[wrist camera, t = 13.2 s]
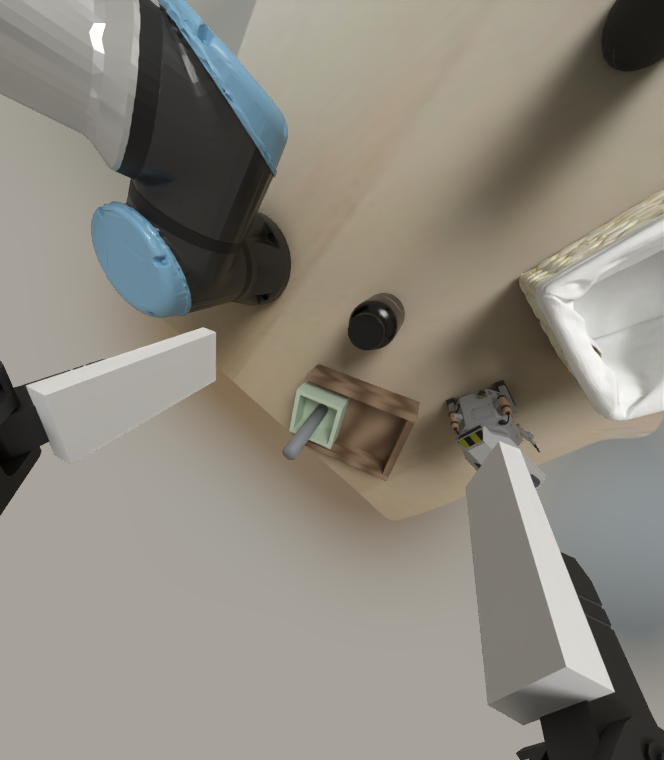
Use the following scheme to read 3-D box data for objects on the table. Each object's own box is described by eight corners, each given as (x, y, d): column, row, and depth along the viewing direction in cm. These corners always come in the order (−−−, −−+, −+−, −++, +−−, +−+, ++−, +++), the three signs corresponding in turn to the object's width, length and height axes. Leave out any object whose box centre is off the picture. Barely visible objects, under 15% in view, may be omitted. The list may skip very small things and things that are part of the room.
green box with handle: (300, 417, 58) (261, 463, 45) (308, 378, 53) (267, 417, 40) (338, 434, 56) (309, 486, 44) (351, 395, 51) (321, 441, 39)
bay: (304, 426, 60) (294, 440, 56) (318, 364, 52) (307, 374, 48) (390, 463, 56) (386, 481, 52) (419, 402, 48) (417, 417, 44)
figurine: (471, 444, 48) (482, 514, 36) (442, 391, 46) (443, 446, 33) (529, 429, 44) (566, 503, 31) (500, 370, 42) (526, 423, 29)
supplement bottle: (407, 293, 42) (396, 307, 31) (402, 336, 45) (391, 361, 34) (364, 291, 44) (340, 303, 34) (362, 332, 47) (340, 355, 37)
